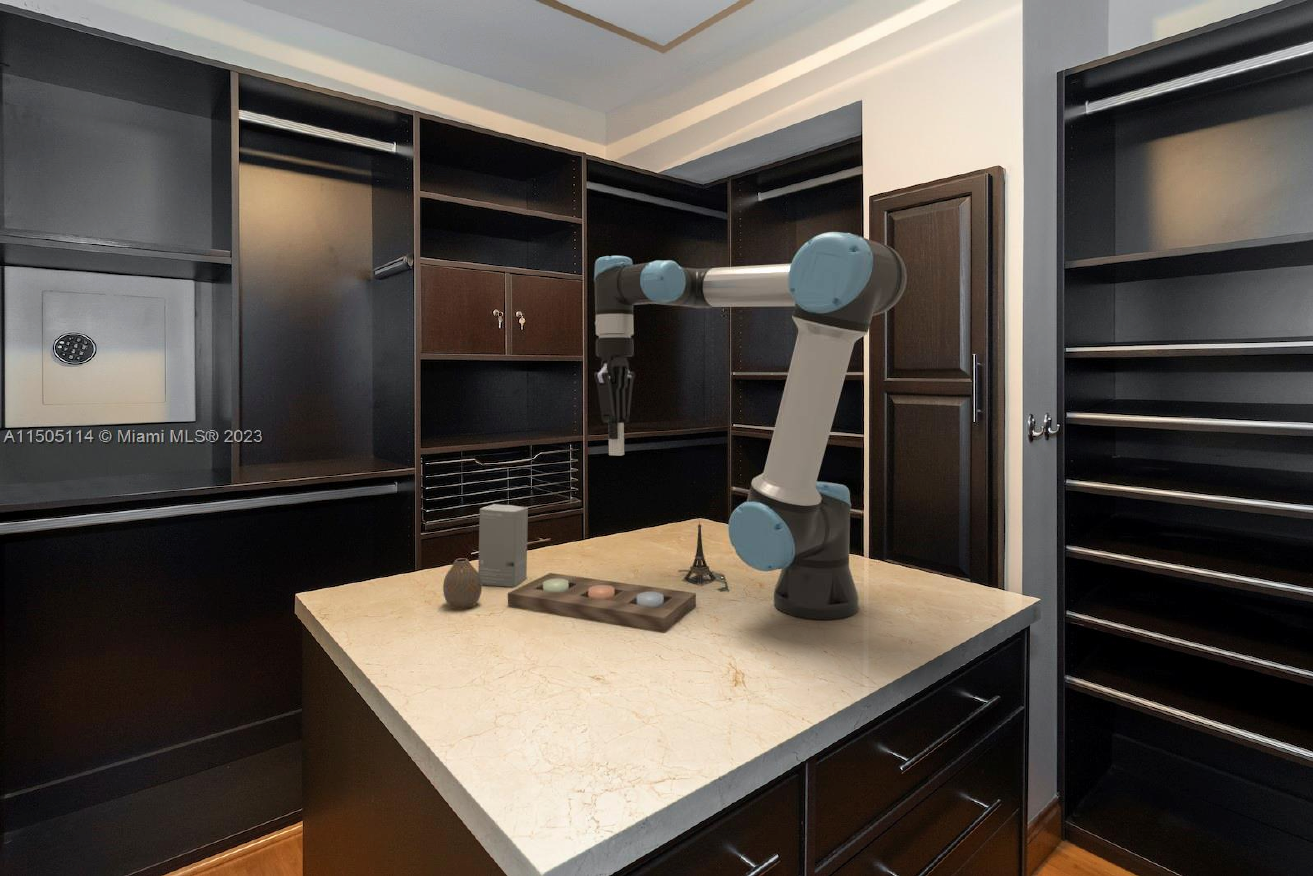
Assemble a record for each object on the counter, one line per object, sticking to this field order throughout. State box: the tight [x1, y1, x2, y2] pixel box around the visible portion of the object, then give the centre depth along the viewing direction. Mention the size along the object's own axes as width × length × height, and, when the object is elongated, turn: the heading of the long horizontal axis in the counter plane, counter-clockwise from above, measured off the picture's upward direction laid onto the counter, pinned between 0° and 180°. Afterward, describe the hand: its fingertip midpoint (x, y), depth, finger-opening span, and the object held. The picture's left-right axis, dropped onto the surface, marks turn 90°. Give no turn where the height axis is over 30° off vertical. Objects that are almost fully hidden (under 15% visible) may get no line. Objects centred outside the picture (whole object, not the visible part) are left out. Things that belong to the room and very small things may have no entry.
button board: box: [507, 572, 697, 633], centre depth 128 cm, size 32×14×2 cm, turn 65°
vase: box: [442, 557, 483, 610], centre depth 129 cm, size 7×7×9 cm
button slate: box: [637, 592, 664, 608], centre depth 124 cm, size 5×5×3 cm
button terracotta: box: [588, 585, 614, 600], centre depth 128 cm, size 5×5×3 cm
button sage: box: [543, 579, 569, 593], centre depth 133 cm, size 5×5×3 cm
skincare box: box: [477, 503, 529, 588], centre depth 143 cm, size 8×7×16 cm
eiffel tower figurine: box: [677, 519, 730, 593], centre depth 143 cm, size 15×10×13 cm
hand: (616, 454), depth 140 cm, fingers closed
